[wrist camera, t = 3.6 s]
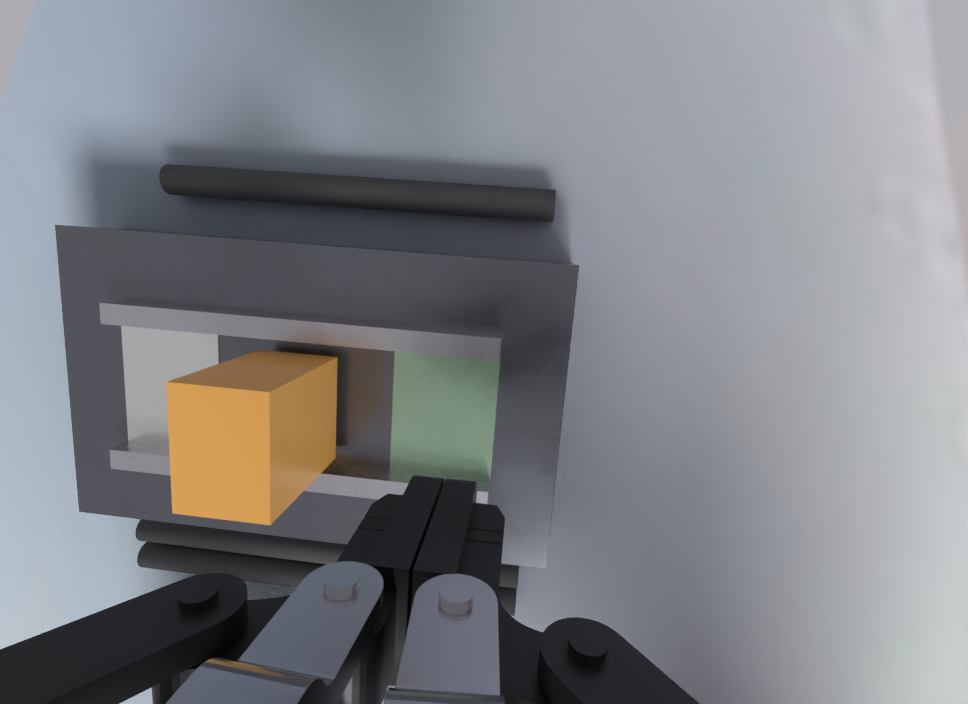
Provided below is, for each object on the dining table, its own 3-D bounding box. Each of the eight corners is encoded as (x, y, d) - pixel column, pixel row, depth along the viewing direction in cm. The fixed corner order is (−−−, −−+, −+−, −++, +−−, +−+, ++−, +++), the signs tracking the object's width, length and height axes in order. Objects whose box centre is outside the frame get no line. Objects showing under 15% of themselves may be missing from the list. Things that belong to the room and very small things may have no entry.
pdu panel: (572, 264, 21) (581, 266, 17) (543, 529, 23) (546, 585, 19) (117, 229, 22) (30, 223, 19) (133, 481, 25) (58, 523, 21)
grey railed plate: (554, 192, 20) (556, 188, 19) (514, 604, 24) (513, 621, 23) (134, 164, 22) (112, 158, 21) (156, 557, 25) (137, 572, 24)
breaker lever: (337, 357, 19) (269, 392, 14) (335, 458, 20) (270, 525, 15) (260, 349, 19) (166, 381, 14) (260, 449, 20) (172, 513, 15)
